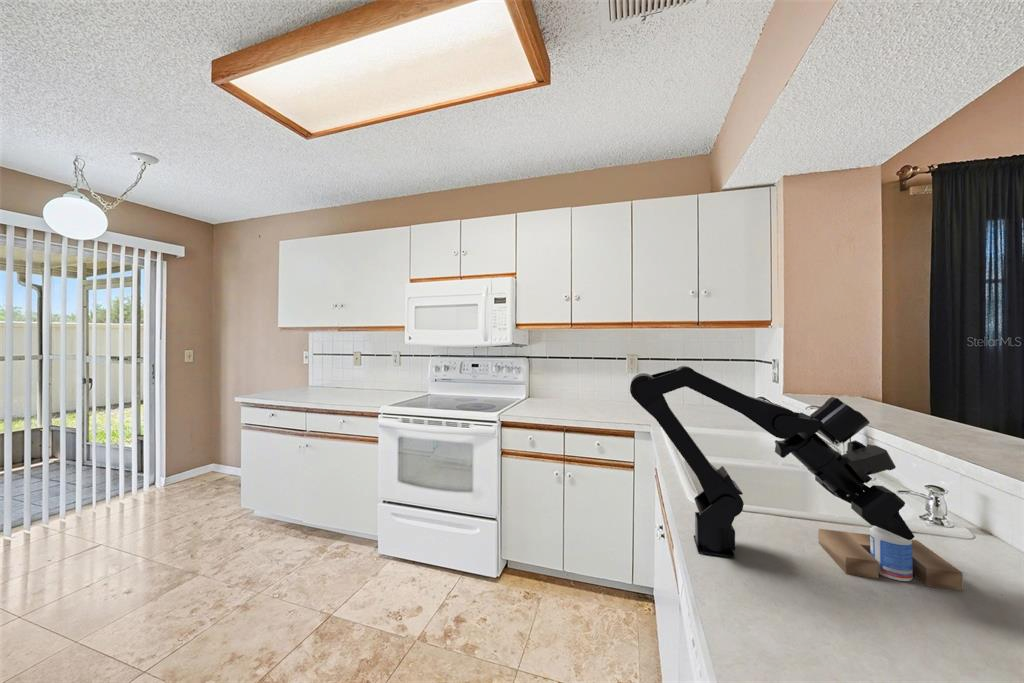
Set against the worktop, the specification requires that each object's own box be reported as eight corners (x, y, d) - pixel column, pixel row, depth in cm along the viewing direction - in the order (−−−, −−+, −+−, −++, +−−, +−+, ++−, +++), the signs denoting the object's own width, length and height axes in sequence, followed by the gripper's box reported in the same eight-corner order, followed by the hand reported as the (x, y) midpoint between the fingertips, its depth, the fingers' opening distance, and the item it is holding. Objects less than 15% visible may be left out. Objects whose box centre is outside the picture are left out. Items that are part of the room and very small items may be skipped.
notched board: (845, 573, 69) (845, 557, 69) (818, 543, 80) (818, 528, 80) (962, 590, 64) (962, 572, 64) (917, 555, 75) (916, 540, 75)
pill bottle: (922, 581, 67) (921, 524, 67) (895, 583, 66) (894, 527, 66) (887, 563, 72) (886, 511, 72) (862, 565, 72) (861, 513, 72)
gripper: (889, 443, 62) (980, 522, 59) (832, 420, 80) (900, 479, 76) (830, 487, 64) (914, 564, 61) (788, 455, 82) (851, 514, 79)
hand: (894, 525), depth 69 cm, fingers open, 9 cm apart
